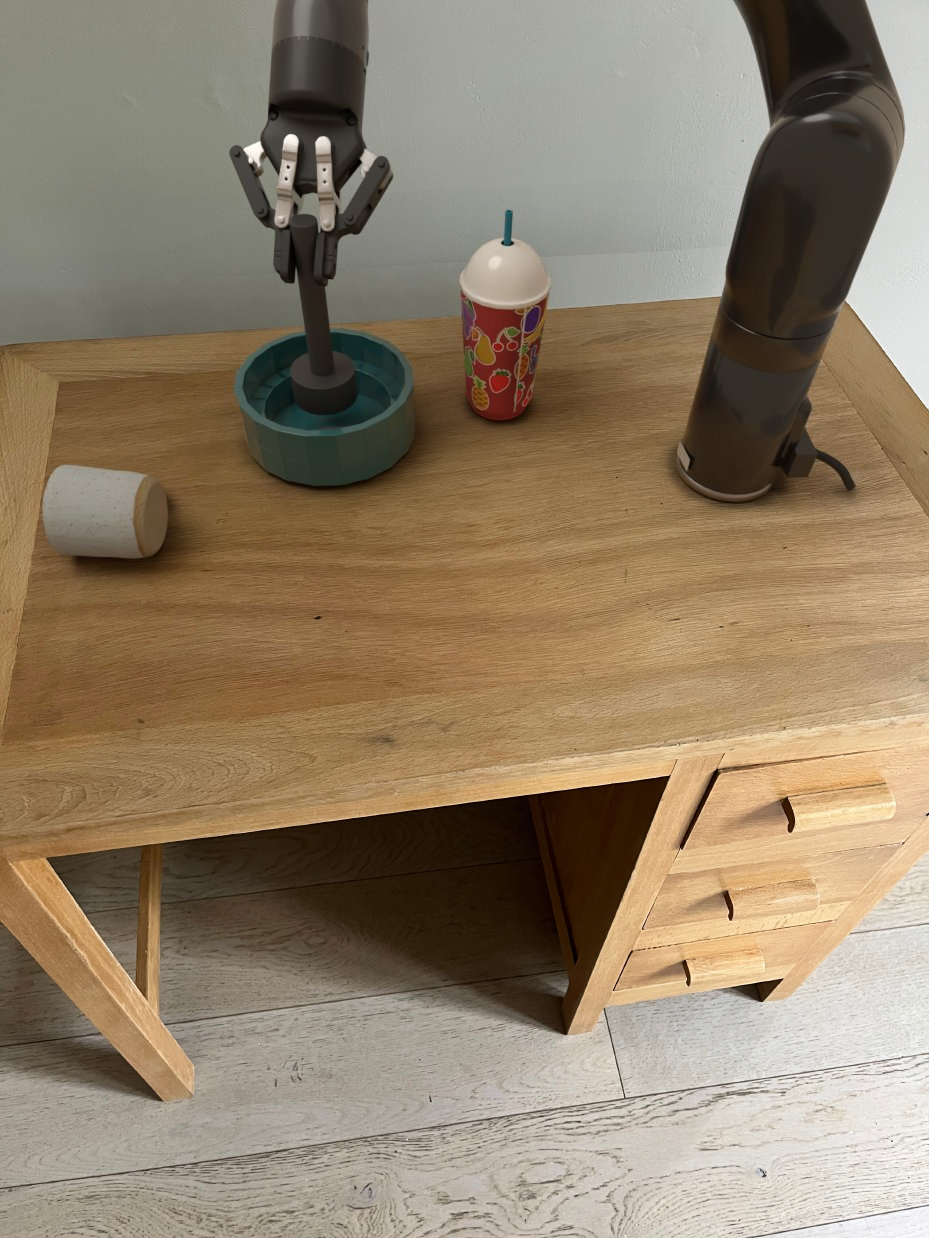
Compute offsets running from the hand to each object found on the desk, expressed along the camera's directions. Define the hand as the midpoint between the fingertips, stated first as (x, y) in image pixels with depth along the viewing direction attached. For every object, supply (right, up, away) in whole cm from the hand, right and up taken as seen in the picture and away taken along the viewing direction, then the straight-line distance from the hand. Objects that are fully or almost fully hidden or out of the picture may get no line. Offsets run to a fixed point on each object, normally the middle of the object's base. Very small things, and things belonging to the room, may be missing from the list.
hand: (304, 281), depth 70 cm
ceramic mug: (-17, -20, +6) cm, 27 cm away
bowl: (0, -9, +15) cm, 17 cm away
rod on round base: (0, -6, +11) cm, 13 cm away
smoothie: (+17, -6, +18) cm, 25 cm away
